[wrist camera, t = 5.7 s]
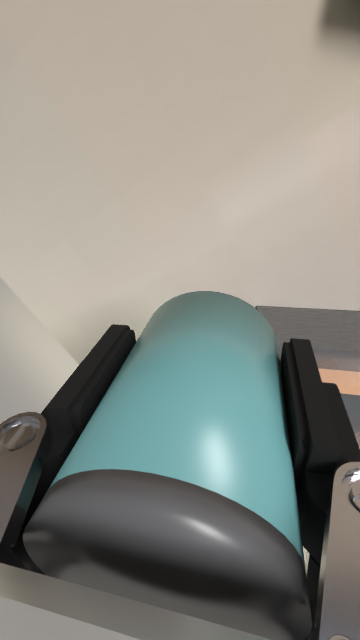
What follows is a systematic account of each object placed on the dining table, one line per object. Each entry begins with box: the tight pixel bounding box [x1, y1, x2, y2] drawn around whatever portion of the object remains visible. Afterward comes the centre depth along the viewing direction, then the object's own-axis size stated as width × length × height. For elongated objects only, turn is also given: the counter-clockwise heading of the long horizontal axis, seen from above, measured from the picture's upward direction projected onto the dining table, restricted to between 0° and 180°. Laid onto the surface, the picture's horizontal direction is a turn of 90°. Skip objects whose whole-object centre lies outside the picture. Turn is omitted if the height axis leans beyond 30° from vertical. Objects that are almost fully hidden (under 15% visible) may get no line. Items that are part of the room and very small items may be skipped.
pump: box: [23, 291, 312, 640], centre depth 8 cm, size 5×7×7 cm
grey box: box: [257, 306, 360, 448], centre depth 25 cm, size 18×12×8 cm, turn 93°
